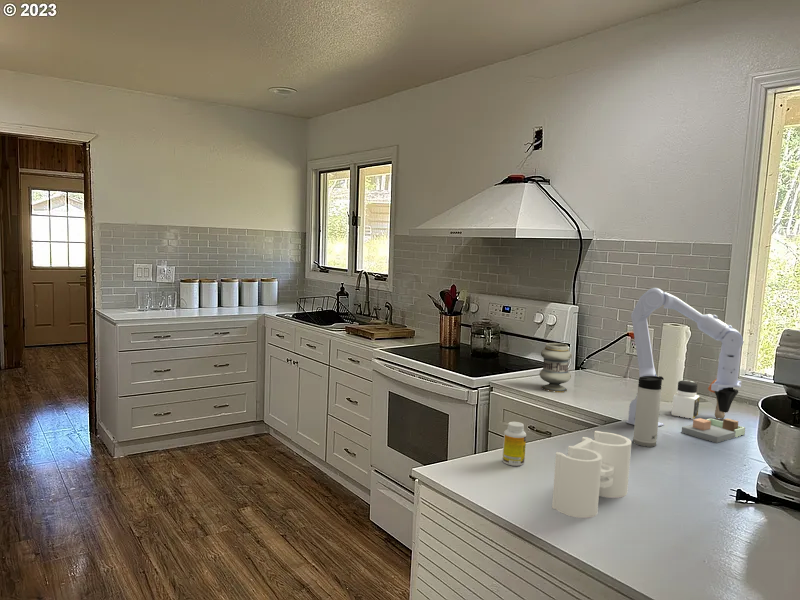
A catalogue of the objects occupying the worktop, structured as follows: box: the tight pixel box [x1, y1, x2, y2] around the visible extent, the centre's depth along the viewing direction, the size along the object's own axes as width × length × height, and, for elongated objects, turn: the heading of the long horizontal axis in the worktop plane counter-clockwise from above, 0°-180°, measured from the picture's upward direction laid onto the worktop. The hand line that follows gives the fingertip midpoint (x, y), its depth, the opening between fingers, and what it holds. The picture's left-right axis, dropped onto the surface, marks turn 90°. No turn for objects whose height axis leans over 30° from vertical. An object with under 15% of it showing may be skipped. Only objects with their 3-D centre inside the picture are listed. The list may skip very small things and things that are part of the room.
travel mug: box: [632, 375, 664, 448], centre depth 176 cm, size 6×7×20 cm
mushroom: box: [707, 378, 726, 419], centre depth 207 cm, size 8×8×15 cm
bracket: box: [551, 430, 632, 519], centre depth 135 cm, size 25×10×12 cm, turn 140°
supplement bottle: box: [501, 421, 527, 467], centre depth 155 cm, size 6×6×10 cm
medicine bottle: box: [671, 379, 701, 420], centre depth 210 cm, size 7×7×12 cm
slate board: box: [681, 423, 736, 444], centre depth 188 cm, size 11×11×2 cm
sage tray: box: [705, 418, 746, 438], centre depth 193 cm, size 6×11×2 cm, turn 35°
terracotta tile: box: [692, 417, 711, 430], centre depth 189 cm, size 4×4×2 cm
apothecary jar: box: [539, 342, 573, 393], centre depth 239 cm, size 12×12×18 cm
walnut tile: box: [722, 417, 739, 431], centre depth 190 cm, size 4×4×2 cm
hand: (723, 411), depth 187 cm, fingers closed
